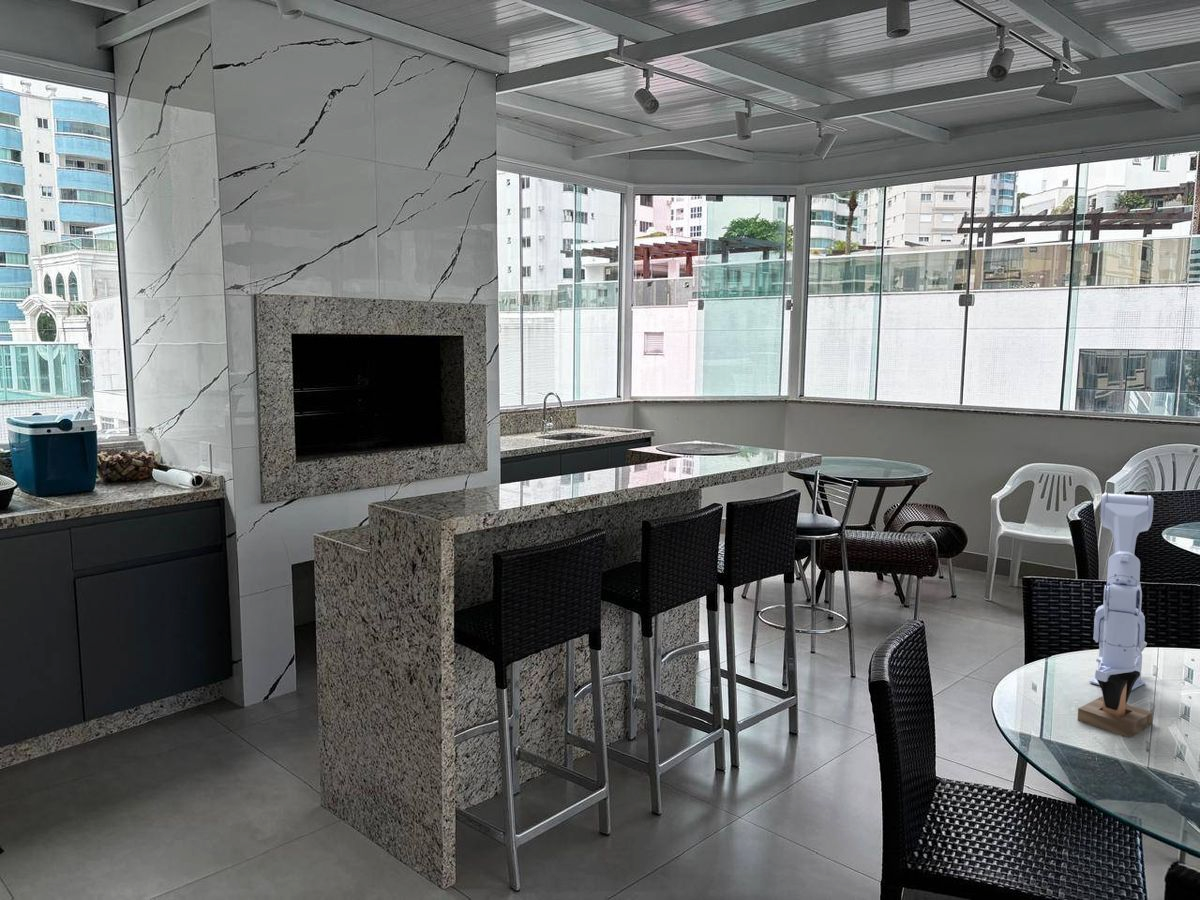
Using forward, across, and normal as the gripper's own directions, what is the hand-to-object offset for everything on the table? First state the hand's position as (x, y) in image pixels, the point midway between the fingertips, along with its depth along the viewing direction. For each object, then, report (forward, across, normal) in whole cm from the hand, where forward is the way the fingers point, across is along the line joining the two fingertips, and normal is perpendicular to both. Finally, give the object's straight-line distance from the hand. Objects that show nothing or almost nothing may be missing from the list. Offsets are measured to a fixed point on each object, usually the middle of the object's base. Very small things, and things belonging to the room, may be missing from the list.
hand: (1115, 706), depth 179 cm
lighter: (+4, -30, -11) cm, 32 cm away
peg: (+3, 0, 0) cm, 3 cm away
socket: (+3, 0, 0) cm, 3 cm away
